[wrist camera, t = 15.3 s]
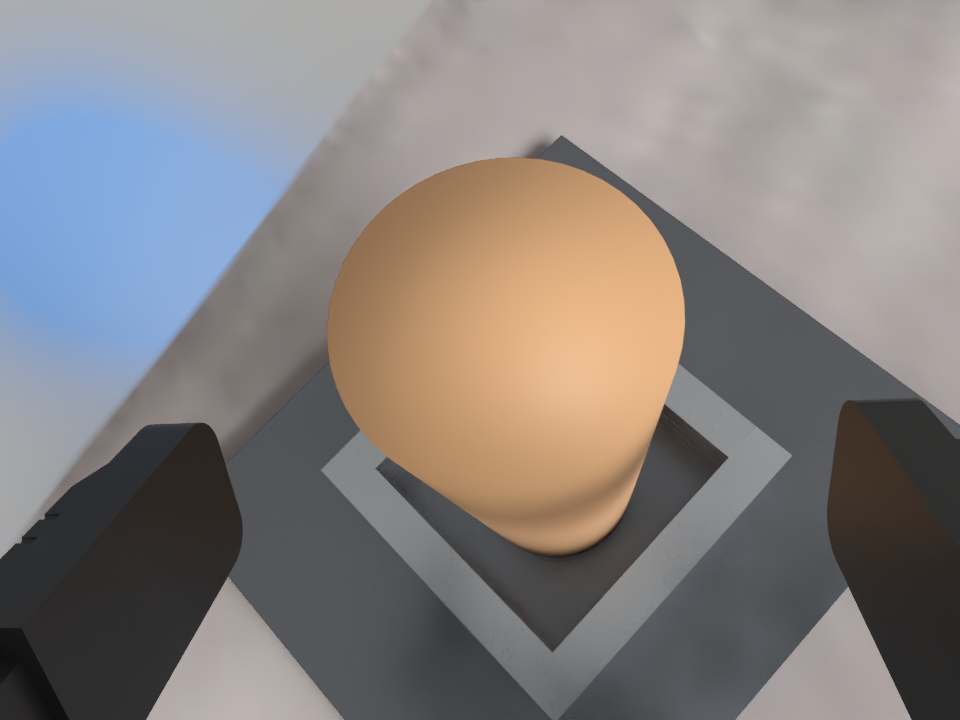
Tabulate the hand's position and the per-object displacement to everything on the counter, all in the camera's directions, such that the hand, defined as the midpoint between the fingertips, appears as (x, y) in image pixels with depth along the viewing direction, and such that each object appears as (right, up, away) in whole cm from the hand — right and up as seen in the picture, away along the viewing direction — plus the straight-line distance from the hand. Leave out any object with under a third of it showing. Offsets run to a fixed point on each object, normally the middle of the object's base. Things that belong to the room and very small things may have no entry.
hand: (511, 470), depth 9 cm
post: (+2, -2, +10) cm, 10 cm away
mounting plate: (+2, -2, +11) cm, 11 cm away
